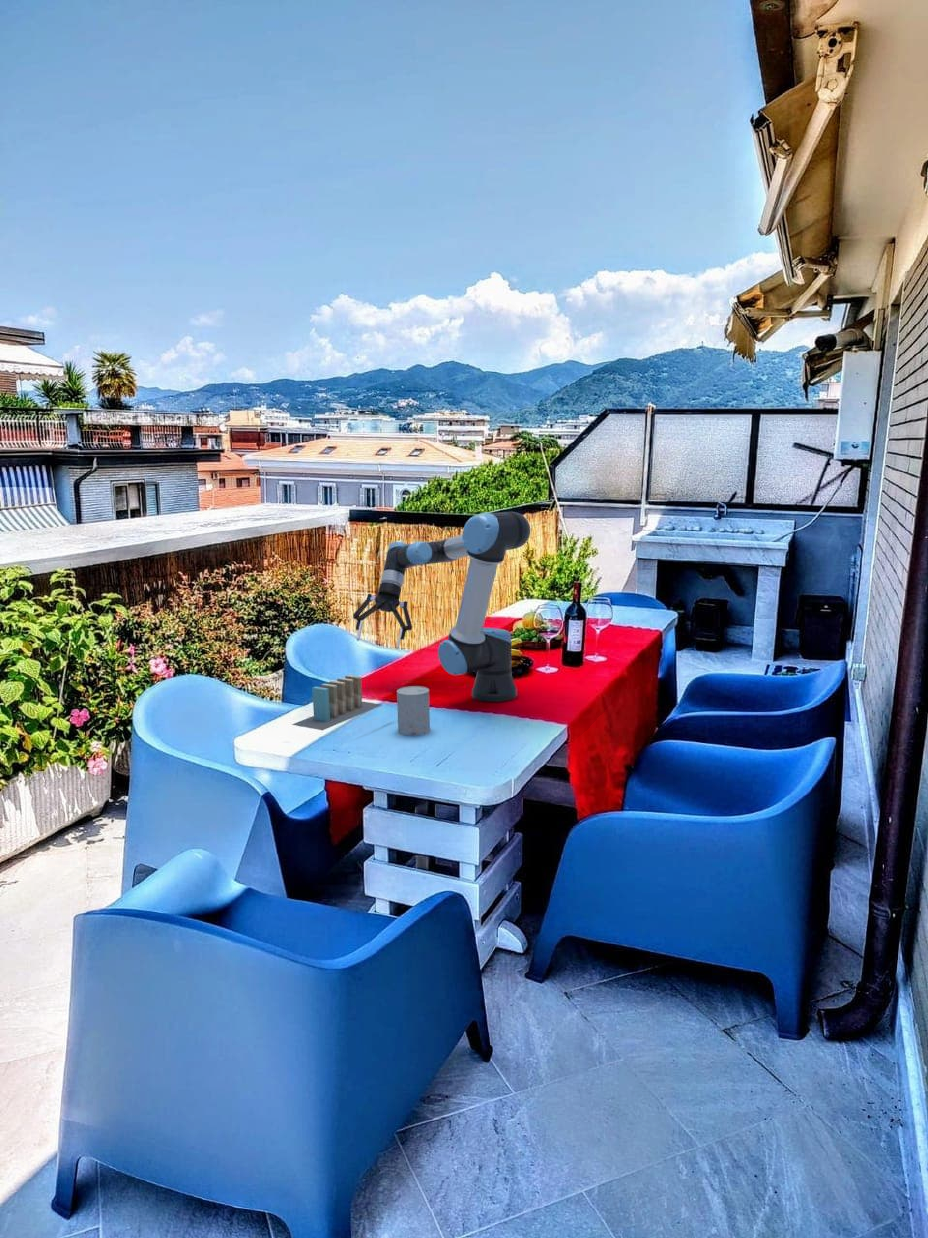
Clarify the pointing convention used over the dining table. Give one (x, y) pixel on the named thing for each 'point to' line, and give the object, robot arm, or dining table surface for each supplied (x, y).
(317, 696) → the domino
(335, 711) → the domino
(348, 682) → the domino
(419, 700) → the grey flat-topped cylinder
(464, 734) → the dining table surface
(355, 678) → the domino
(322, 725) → the mat
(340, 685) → the domino
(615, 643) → the dining table surface
